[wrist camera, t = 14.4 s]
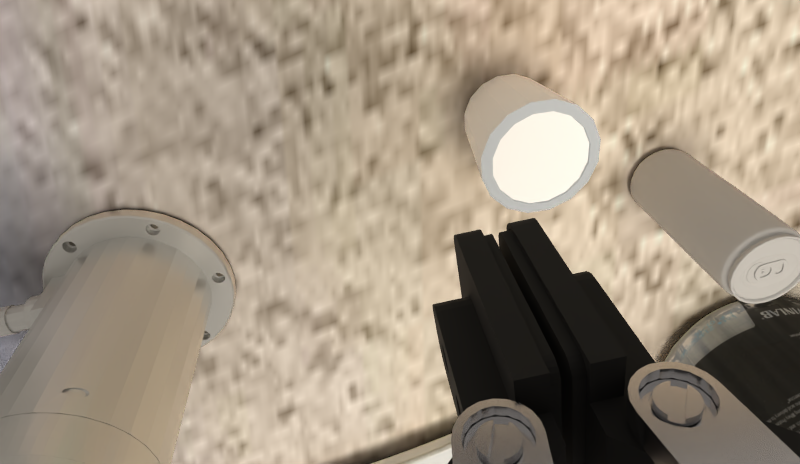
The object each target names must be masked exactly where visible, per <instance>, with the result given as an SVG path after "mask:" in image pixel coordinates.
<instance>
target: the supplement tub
mask: <svg viewBox="0 0 800 464" xmlns="http://www.w3.org/2000/svg"><path fill="white" fill-rule="evenodd" d="M664 362H679V363H683V364H688V365H692V366H694V367H696V368H699V369H701V370H703V371H705V372H707V373H708V374H710V375H711V376H712V377H714V378H715V379H716V380H718V381H719V382H720V383H721V384H722V385H723V386H724V387H725V388H726V389H728V390H729V391H730V392H731V393H732V394H733V395H734V396H735V397H736V398H737V399H738V400H739V401H740V402H741V403H742V404H743V405H744V406H745V407H747V408H748V409H749V410H750V411H751V412H752V413H753V414H754V415H755V416H756V417H757V418H758V419H761V420H764V421H767V422H769V423H772V424H775V425H778V426H781V427H783V428H786V429H789V430H792V431H794V432H797V433H800V301H799V300H797V299H793V298H788V297H781V296H780V297H778V298H776V299H773V300H771V301H768V302H764V303H758V304H752V303H745V302H742V301H737V302H734V303H731V304H728V305H725V306H723V307H721V308H719V309H717V310H715V311H713V312H711V313H710V314H708V315H706V316H705V317H704V318H702V319H701V320H699V321H698V322H697V323H696V324H695V325H693V326H692V327H691V328H690V329H689V330H688V331H687V332H686V333H685V334H684V335H683V336H682V337H681V338H680V339H679V340H678V342H677V343H676V344H675V345H674V346H673V347H672V349H671V351H670V352H669V354H668V356H667V357H666V359H665V361H664Z"/></svg>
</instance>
